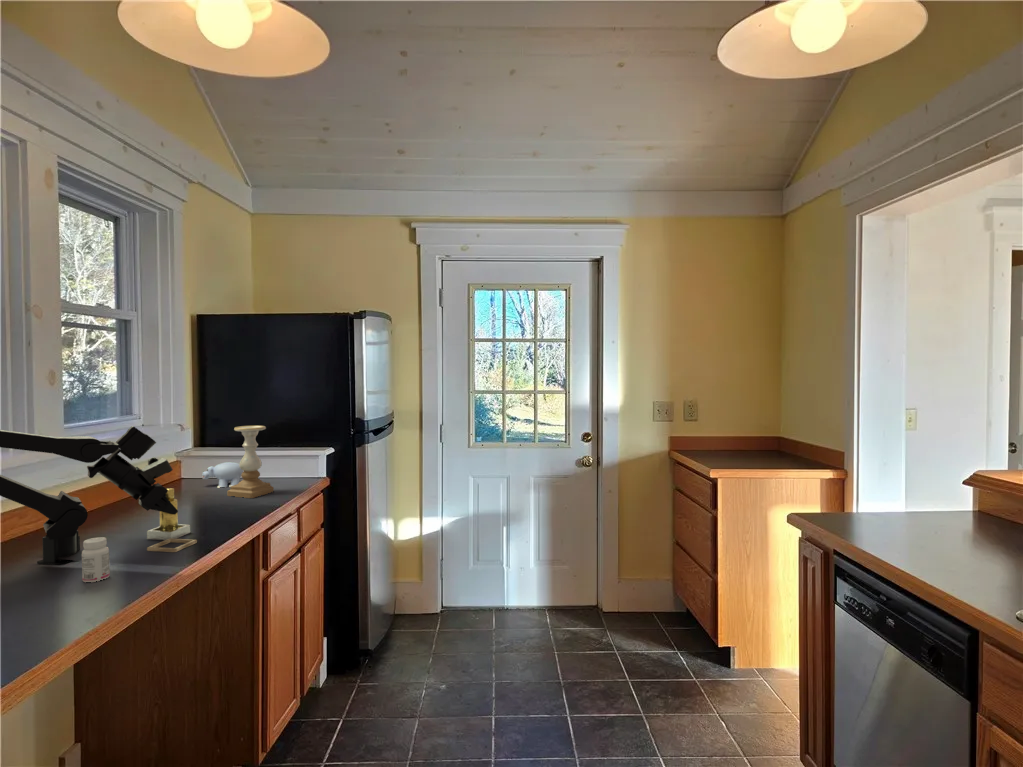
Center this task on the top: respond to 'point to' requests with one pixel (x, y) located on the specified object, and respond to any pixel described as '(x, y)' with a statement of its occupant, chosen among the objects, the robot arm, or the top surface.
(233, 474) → the hippopotamus toy
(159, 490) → the robot arm
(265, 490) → the candle holder
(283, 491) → the top surface
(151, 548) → the tan flat square frame
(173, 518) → the gold bottle
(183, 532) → the socket
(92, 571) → the pill bottle
